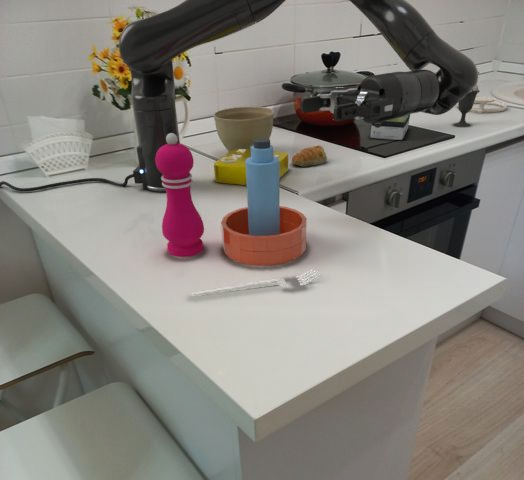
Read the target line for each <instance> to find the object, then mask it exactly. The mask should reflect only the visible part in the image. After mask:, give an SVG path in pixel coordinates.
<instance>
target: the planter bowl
mask: <svg viewBox="0 0 524 480" xmlns="http://www.w3.org/2000/svg"><path fill="white" fill-rule="evenodd" d="M274 117H275V111H274V109H271V108H269V107H264V106H236V107H229V108H223V109H220V110H217V111H215V112H214V113H213V120H214V123H215V129H216V133H217V135H218V137H219V140H220V142H221V143H222V145H223V146H224V147H225V149H226V150H227V152H228V153H230V152H231V151H233V150H235V149H251V146H253V145H254V139H258V138H267V139H270V138H271V136H272V132H273V127H274Z"/></svg>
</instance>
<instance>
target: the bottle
mask: <svg viewBox="0 0 524 480" xmlns="http://www.w3.org/2000/svg"><path fill="white" fill-rule="evenodd" d="M273 151H274V145H273V144H271V139H270V138H269V139H267V138H258V139H254V145H253V146H251V157H249V158H247V159H246V182H247V185H246V198H247V199H246V201H247V202H246V203H247V207H248V225H249V235H252V236H270V235H278V234H280V206H281V205H280V179H279V159H278V158H277V157H274V154H273Z"/></svg>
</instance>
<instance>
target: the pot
mask: <svg viewBox="0 0 524 480" xmlns="http://www.w3.org/2000/svg"><path fill="white" fill-rule="evenodd" d="M307 220H308V219H307V217H306V216H305V214H303V213H302V212H301V211H299V210H297V209H296V208H292V207H289V206H283V205H280V234H278V235H270V236H252V235H249V225H248V206H245V207H241V208H237V209H235V210H233V211H231V212H228V213H227V214H226V215H224V216H223V217H222V220H221V222H220V227H221V228H220V229H221V239H222V249H223V252H224V255H225V256H226V257H227V258H228V259H230V260H232V261H234V262H236V263H240V264H243V265H249V266H260V267H263V266H265V267H266V266H277V265H282V264H286V263H289V262H293V261H294V260H296V259H298V258H300V257H301V256H302V255H303V254H304V253H305V252H306V250H307V225H308V224H307Z"/></svg>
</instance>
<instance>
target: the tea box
mask: <svg viewBox="0 0 524 480" xmlns="http://www.w3.org/2000/svg"><path fill="white" fill-rule="evenodd" d="M410 118H411V114H408V115H405V116H403V117H400V118H396V119H392V120H387V121H382V122H378V123H371V128H370V136H369V138H371V139H376V140H377V139H379V140H393V141H394V140H395V141H396V140H397V141H403V139H404V138H405V135H406V133H407V131H408V129H409V124H410Z"/></svg>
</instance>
